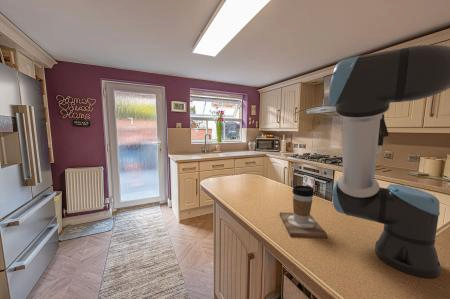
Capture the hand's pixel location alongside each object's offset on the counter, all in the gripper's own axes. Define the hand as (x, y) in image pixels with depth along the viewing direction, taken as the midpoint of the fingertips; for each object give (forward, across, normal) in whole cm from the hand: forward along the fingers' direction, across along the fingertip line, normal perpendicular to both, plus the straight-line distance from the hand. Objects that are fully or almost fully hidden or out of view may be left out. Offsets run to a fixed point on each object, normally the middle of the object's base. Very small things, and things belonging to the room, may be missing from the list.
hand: (366, 151), depth 87 cm
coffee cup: (+30, -10, +31) cm, 44 cm away
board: (+32, -10, +31) cm, 45 cm away
